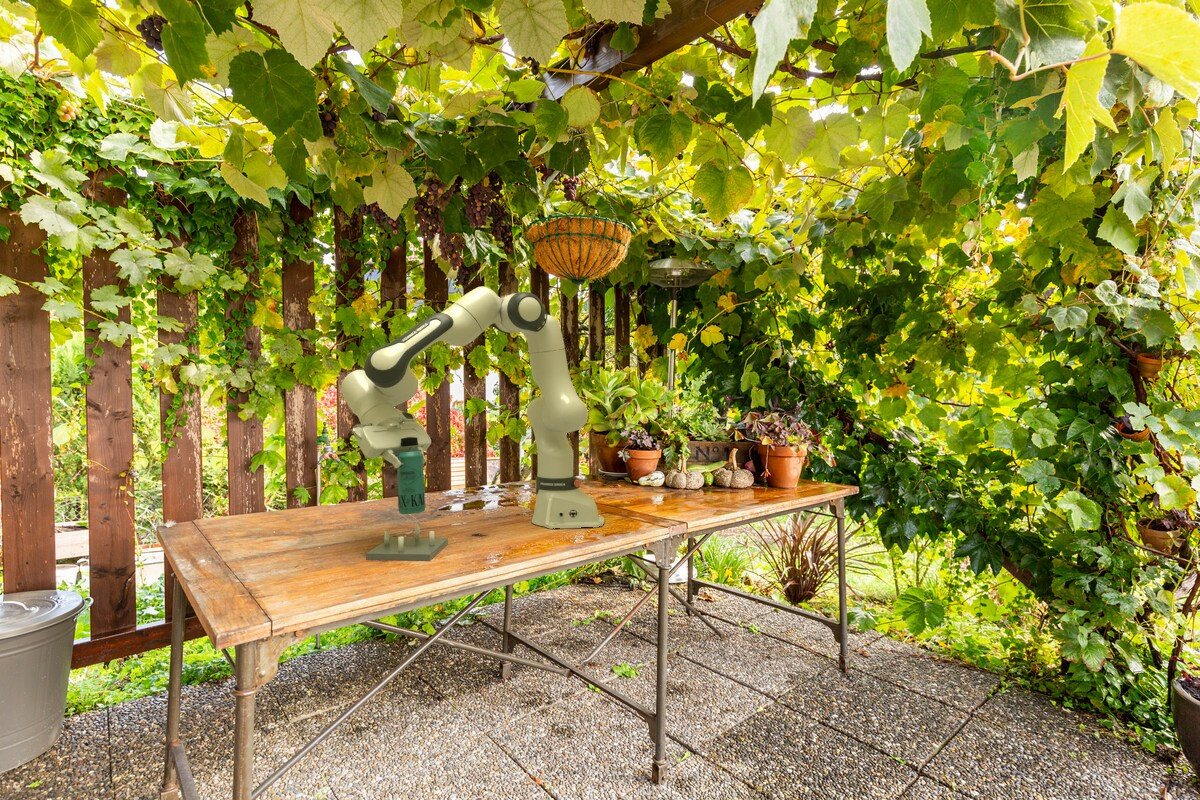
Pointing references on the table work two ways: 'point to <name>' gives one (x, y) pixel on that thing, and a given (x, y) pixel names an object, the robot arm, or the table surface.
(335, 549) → the table surface
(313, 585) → the table surface
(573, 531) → the table surface
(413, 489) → the beverage bottle
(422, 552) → the pin plate
